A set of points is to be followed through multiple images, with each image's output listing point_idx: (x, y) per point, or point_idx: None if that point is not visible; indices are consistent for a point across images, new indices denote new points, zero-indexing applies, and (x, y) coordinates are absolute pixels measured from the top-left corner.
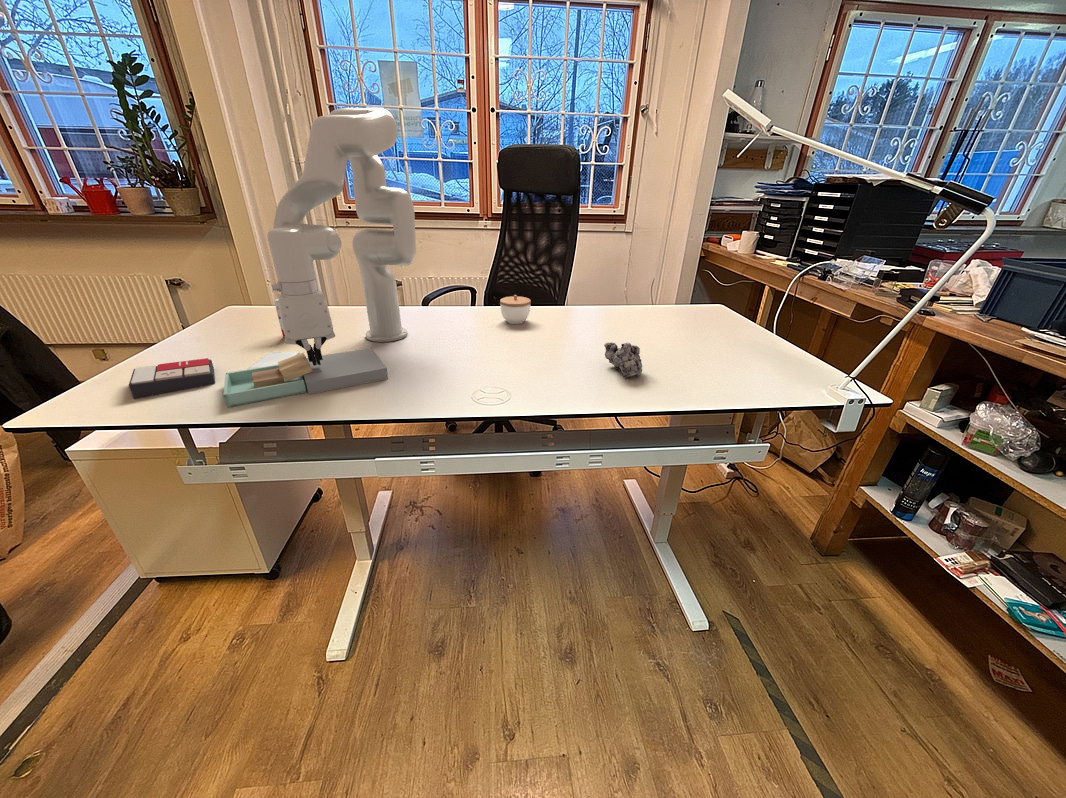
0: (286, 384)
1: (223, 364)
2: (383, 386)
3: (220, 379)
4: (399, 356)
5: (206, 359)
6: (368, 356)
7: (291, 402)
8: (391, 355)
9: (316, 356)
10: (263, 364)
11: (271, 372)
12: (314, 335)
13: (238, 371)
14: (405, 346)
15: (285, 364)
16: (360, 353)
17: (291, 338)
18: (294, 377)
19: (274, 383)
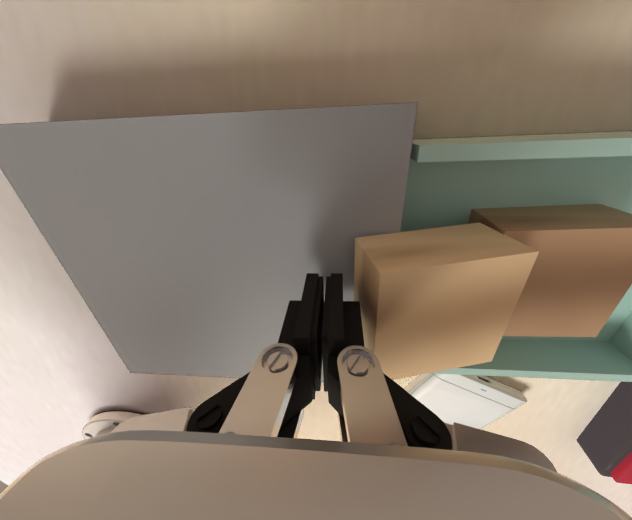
0: (516, 142)
1: (543, 450)
2: (41, 27)
3: (603, 383)
4: (71, 319)
5: (626, 477)
6: (121, 308)
7: (502, 32)
8: (101, 335)
9: (314, 306)
10: (470, 411)
11: (527, 306)
12: (245, 477)
13: (608, 377)
14: (75, 373)
15: (483, 310)
16: (161, 345)
17: (591, 510)
18: (444, 228)
19: (539, 218)
